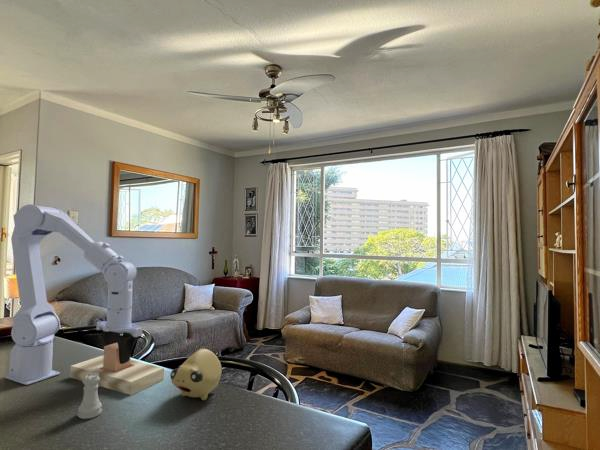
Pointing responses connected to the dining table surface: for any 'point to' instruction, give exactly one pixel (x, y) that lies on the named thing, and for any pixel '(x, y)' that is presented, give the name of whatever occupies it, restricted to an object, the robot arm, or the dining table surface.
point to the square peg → (113, 359)
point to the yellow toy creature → (198, 374)
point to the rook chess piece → (90, 398)
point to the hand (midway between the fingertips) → (117, 360)
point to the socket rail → (120, 375)
